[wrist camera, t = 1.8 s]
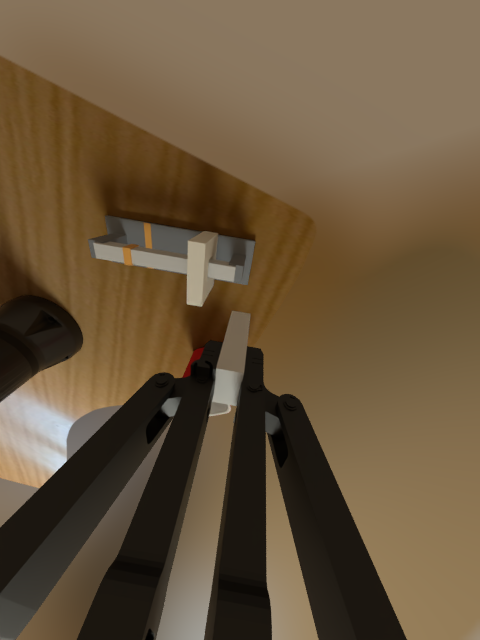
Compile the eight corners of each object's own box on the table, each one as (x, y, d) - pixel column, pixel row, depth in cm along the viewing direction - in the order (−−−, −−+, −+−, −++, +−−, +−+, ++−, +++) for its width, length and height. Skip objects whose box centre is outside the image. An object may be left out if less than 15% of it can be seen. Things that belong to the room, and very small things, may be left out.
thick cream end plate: (201, 282, 34) (186, 304, 28) (204, 230, 30) (187, 240, 23) (213, 284, 34) (201, 306, 28) (218, 233, 30) (205, 243, 23)
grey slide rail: (115, 260, 36) (85, 273, 30) (108, 215, 32) (72, 219, 26) (247, 283, 36) (245, 301, 30) (255, 240, 32) (253, 251, 26)
